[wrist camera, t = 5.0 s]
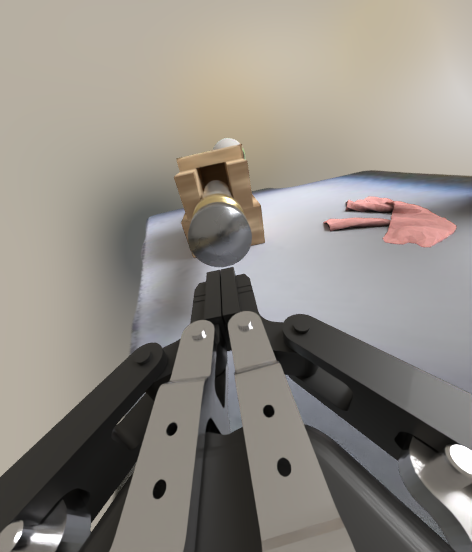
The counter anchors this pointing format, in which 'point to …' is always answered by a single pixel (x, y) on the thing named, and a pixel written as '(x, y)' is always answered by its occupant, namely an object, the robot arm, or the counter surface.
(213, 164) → the bearing block
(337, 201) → the counter surface
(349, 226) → the cloth
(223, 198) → the shaft
